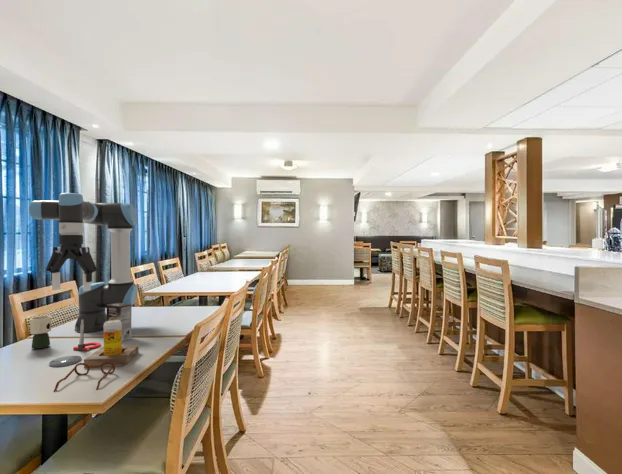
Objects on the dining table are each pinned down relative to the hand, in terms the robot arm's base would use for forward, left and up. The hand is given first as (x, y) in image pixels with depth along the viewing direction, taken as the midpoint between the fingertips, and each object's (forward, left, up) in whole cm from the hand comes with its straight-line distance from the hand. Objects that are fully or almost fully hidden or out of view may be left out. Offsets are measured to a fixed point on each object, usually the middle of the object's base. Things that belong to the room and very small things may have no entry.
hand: (71, 290), depth 130 cm
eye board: (-1, +14, -28) cm, 31 cm away
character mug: (-20, -23, -28) cm, 41 cm away
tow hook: (-18, -3, -28) cm, 33 cm away
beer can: (-1, +14, -28) cm, 31 cm away
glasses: (+19, +14, -28) cm, 37 cm away
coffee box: (-29, +5, -28) cm, 41 cm away
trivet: (-1, -3, -28) cm, 28 cm away
